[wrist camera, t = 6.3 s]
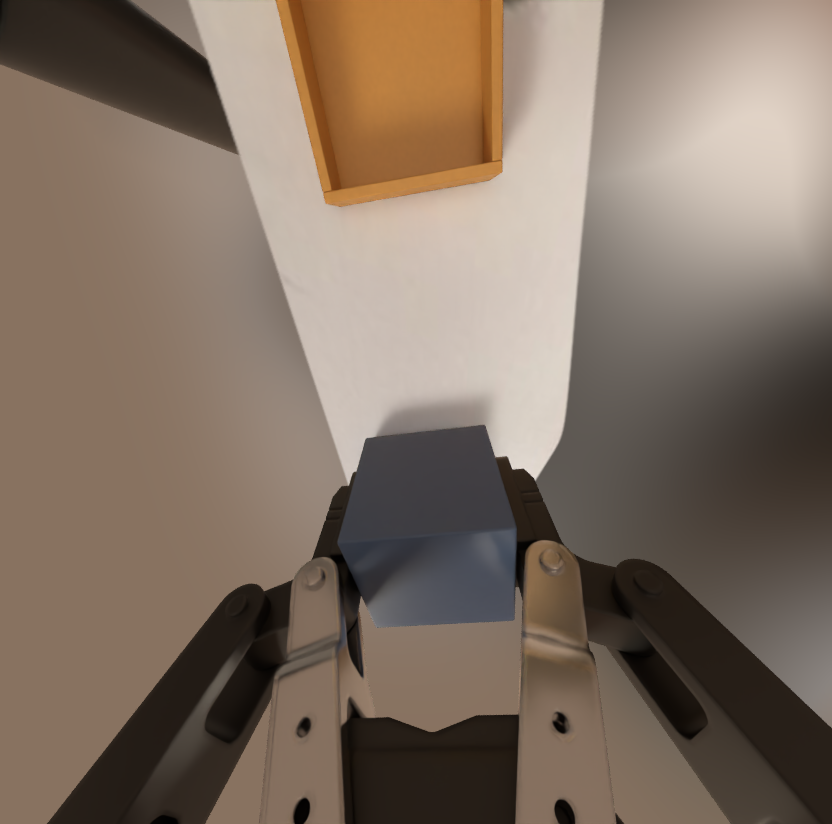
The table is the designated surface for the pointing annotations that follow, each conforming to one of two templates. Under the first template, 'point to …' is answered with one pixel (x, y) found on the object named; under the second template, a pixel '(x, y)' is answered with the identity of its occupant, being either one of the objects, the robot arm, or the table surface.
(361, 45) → the ochre bin
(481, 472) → the blue block
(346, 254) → the table surface
